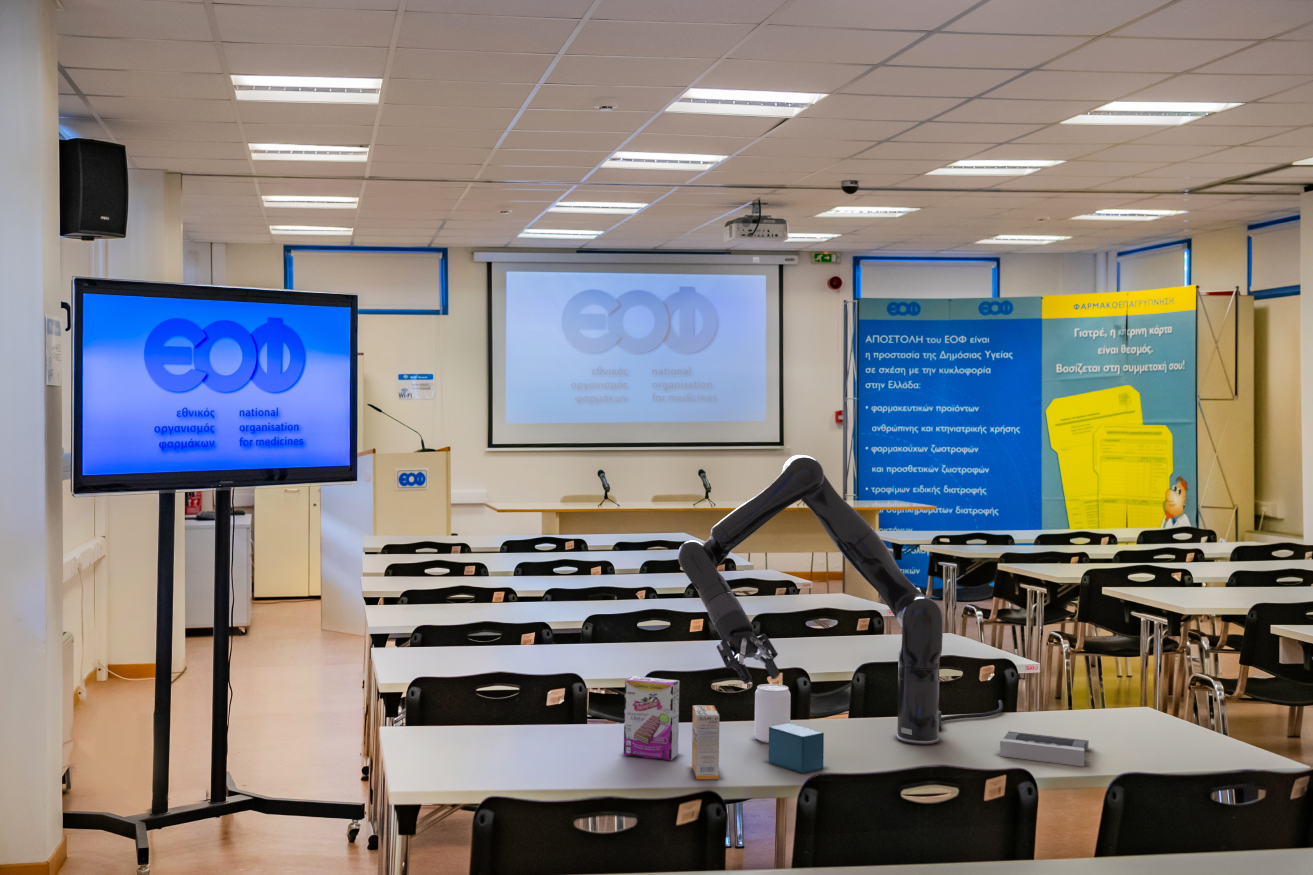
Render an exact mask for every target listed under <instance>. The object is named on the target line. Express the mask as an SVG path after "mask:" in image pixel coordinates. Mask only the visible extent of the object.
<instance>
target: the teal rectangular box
mask: <svg viewBox="0 0 1313 875" xmlns="http://www.w3.org/2000/svg"><path fill="white" fill-rule="evenodd" d="M824 738H825V732H823V731H819V730H816V729H814V728H809V727H806V726H802V725H798V724H795V723H791V722H790V723H787V724H782V725H777V726H772V727H769V743H768V759H767V760H768V763H769V764H772V765H774V766H778V767H781V768H785V769H787V770H790V771H794V772H797V773H799V774H802V775H803V774H807V773H811V772H814V771H819V770H823V769H824V753H825V752H824V751H825V748H824V747H825V746H824V744H825V743H824V742H825V741H824V740H825V739H824Z"/></svg>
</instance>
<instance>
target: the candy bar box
mask: <svg viewBox="0 0 1313 875" xmlns="http://www.w3.org/2000/svg"><path fill="white" fill-rule="evenodd" d="M680 684H681V682H680V680H678V679H666V678H658V677H647V676H639V675H638V676H636V675H632V676H630V677H628V678H626V679H625V680H624V716H623V723H624V725H623V755H624V756H630V757H639V758H647V759H655V760H663V761H673V760H674V759H675V758H677V756H678V755H679V724H680V723H679V722H680V686H681V685H680Z"/></svg>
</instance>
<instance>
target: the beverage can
mask: <svg viewBox="0 0 1313 875" xmlns="http://www.w3.org/2000/svg"><path fill="white" fill-rule="evenodd" d="M789 689H790V688H789V686H787V685H784V684H779V683H764V684H758V685H757V686H756V690H755V692H754V732H753V733H754V735H753V736H754V738H755V739H756V740H758V741H760V742H762V743H766V744H769V727H772V726H777V725H782V724H787V723H791V699H792V698H791V692H790V690H789Z"/></svg>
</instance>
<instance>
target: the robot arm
mask: <svg viewBox="0 0 1313 875" xmlns="http://www.w3.org/2000/svg"><path fill="white" fill-rule="evenodd" d="M800 500H801V501H802V502H803V503H804V505H806V507H807V508H808V509H809V510H810V511H811V512H812V513H813V514H814V515H815V517H816V519H817V520H818V521H819V523H820V524H821V526H822V528H823V529H824V531H825V532H826V534H827V536H828V537H829V538H830V540H831V541H832V543H833V544H834V545H835V547H836V548H837V549H838V551H839V552H840V553H841V554H842V556H843V557H844V558H845V559H846V560H847V562H848V564H850V565H851V567H853V568H854V570H855V571H856V572H857V573H858V574H859V575H860V576H861V577H862V578H863V579H864V580H865V581H866V582H867V583H868V584H869V585H870V586H871V587H872V588H873V589H874V590H875V591H876V592H877V593H878V594H879V596H880V597H881V598H882V600H883V602H885V604H886V606H887V607H888V608H889V609H890V611H891V613H892V614H893V616H894V617H895V619H896V621H897V623H898V624H899V625H900V627H901V633H902V634H901V647H900V650H899V651H898V656H897V657H898V661H897V663H898V666H897V667H898V670H897V671H898V672H897V678H898V679H897V733H896V739H897V740H898V741H901V742H903V743H907V744H911V745H912V744H913V745H934V744H936V743H939V742H940V736H939V734H940V733H939V732H941V731H942V730H943V728H942V722H946V721H951V720H960V719H974V718H977V719H978V718H987V717H991V716H995V715H998V714H1000V713H1002V712H1003V710H1004V703H1003V701H1002V699H998V708H997V709H996V710H992V711H987V712H980V713H965V714H956V715H955V714H954V715H947V716H942V711H941V710H940V660H941V656H942V652H943V638H944V637H943V636H944V635H943V634H944V632H943V631H944V617H943V612H942V609H941V607H940V606H939V604H938V603H937V602H936V601H935V600H933V599H932V598H930V597H928V596H926V595H925V594H923V592H921V591H920V590H919V589H918V588H917V587H916V586H915V585H914V584H913V583H912V582H911V580H909V579H908V577H907V576H906V575H905V574H904V573H903V572H902V570H901V569H900V567H899V565H898V564H897V562H896V559H895V558H894V556H893V554H892V553H891V551H890V550H889V548H888V547H887V544H885V542H884V540H883V539H882V538H881V537H880V535H879V534H878V533H877V532H876V531H875V529H874V528H873V527H872V526H871V524H869V522H868V521H867V520H866V519H865V518H864V517H863V516H862V515H860V513H859V512H858V511H857V510H856V509H855V508H854V507H852V506H851V505H850V504H849V503H848V502H847V501H845V500H844V499H843V497H842V496H840V494H839V493H838V491H837V490H836V489H835V488H834V487H833V485H832V483H831V482H830V481H829V479H828V477H827V476H826V475H825V473H824V468H823V467H822V464H821V463H820V462H819V461H818V460H817V459H815V458H814V457H812V456H810V455H806V454H796V455H793V456H791V457H790V458H788V459H787V460H786V462H785V463H784V465H783V467H782V471H781V473H780V474H779V475H778V476H777V478H776V479H775V480H774V481H773V482H771V484H769V486H768V487H765V489H764V490H762V491H761V492H759V494H757V495H756V496H754V497H752V498H751V499H749V500H748V501H746V502H744V503H742V504H741V505H740V506H739V507H737V508H736V509H734V510H733V511H731V512H730V513H729V514H727V515H726V516H724V517H723V518H722V519H721V520H720V521H719V522H717V523H716V524H715V525H714V526H713V527H711V529H710V537H709V538H708V539H707V540H706V541H705V542H704V543H701V542H700V541H697V540H687V541H685V542H684V543H682V544H681V545H680V547H679V549H678V552H677V560H678V564H679V565H680V567H681V569H682V571H683V572H684V573H685V575H686V577H687V578H688V579H689V581H690V583H691V584H692V585H693V586H694V588H695V589H696V591H697V593H698V596H699V598H700V600H701V602H702V603H703V606H704V607H705V609H706V612H707V615H708V617H709V618H710V619H709V620H710V621H711V622H712V624H713V627H714V628H715V630H716V631H717V633H718V636H719V638H720V639H721V640H720V641H719V642H718V644H717V645H716V649H717V651H718V653H719V654H720V657H721V659H722V662H723V664H724V666H725V667H726V669H733V670H735V671H736V672H737V674H738V676H739V678H740V680H741V681H742V682H743V683H744V684H745V685H747V684H750V683H751V681H752V680H753V676H752V674H751V673H750V671H749V669H748V667H747V665H746V664H745V663H744V660H745V659H746V658H748V659H749V658H750V659H751V658H752V659H754V660H755V661H759V662H761V663H762V664H764V667H765V669H766V671H767V673H768V675H769V676H770V678H771V680H775V679H777V678H778V677H779V676H780V669H779V668H778V666H777V664H776V662H775V661H774V659H775V658H776V657H778V655H779V654H778V651H777V650H776V648H775V647H774V646H773V644H772V642H771V641H770V639H769V638H768V637H769V636H767V634H766V633H762V634H761V635H759V636H756V635H755V634H754V632H753V624H752V622H751V621H750V618H749V616H748V615H747V613H746V612H745V610H744V608H743V606H742V604H741V602H740V601H739V599H738V598H737V597H736V596H735V594H734V593H733V591H732V589H731V587H730V585H729V584H728V582H727V581H726V579H725V578H724V576H723V575H722V574H721V573H720V572H719V570H718V569H717V568H719V566H720V565H721V564H722V563H723V562H724V561H725V559H726V558H727V557H728V556H729V554H731V552H732V551H733V550H735V549H736V548H737V547H738V546H740V545H741V544H742V543H743V542H745V541H746V540H747V539H749V538H750V537H751V536H752V535H754V534H755V533H756V532H757V531H758V530H760V528H762V527H763V526H764V525H766V524H767V523H768V522H769V521H770V520H772V519H773V518H774V517H775V516H777V515H778V514H780V513H781V512H782V511H784V510H785V509H787V508H789V507H790V506H792V505H793V504H795V503H797V502H799V501H800ZM758 650H759V651H758Z"/></svg>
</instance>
